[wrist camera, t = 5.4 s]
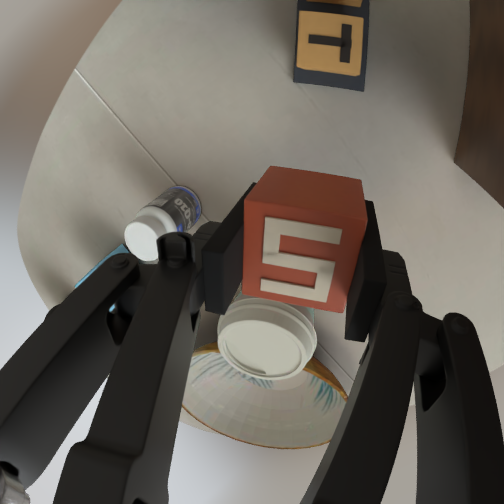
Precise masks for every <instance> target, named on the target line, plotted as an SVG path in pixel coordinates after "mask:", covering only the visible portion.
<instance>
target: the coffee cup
mask: <svg viewBox="0 0 504 504" xmlns="http://www.w3.org/2000/svg"><path fill="white" fill-rule="evenodd" d="M217 333H218V348H219V350H220V353H221V354H222V356H223V357H224V359H225V360H226V361H227V362H228V363H229V364H230V365H231V366H233V367H234V368H235V369H237V370H238V371H240V372H242V373H244V374H247V375H249V376H252V377H255V378H259V379H265V380H282V379H287V378H290V377H292V376H294V375H296V374H298V373H299V372H300V371H301V370H302V369H303V368H304V367H305V365H306V363H307V362H308V361H309V360H310V359H311V357H312V355H313V353H314V351H315V348H316V345H317V336H316V332H315V329H314V308H310V307H305V306H299V305H294V304H289V303H284V302H278V301H273V300H268V299H263V298H258V297H253V296H249V295H244V294H242V290H241V292H240V293H239V295H238V296H237V297H236V299H235V300H234V302H233V303H232V304H231V305H229V307H228V309H227V311H226V313H225V315H221V316H220V318H219V323H218V328H217Z"/></svg>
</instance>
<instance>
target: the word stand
mask: <svg viewBox="0 0 504 504" xmlns="http://www.w3.org/2000/svg"><path fill="white" fill-rule="evenodd" d="M454 163H455V164H456V165H457V166H459V167H460V168H461V169H462V170H463V171H464V172H466V173H467V174H468V175H469V176H470V177H471V178H472V179H473V180H475V181H476V182H477V183H478V184H479V185H480V186H481V187H482V188H483V189H484V190H485V191H486V192H488V193H489V194H490V195H491V196H492V197H493V198H494V199H495V200H496V201H497V202H498V203H499V204H500V205H501V206H502V207H503V208H504V0H470V50H469V66H468V77H467V87H466V95H465V103H464V110H463V117H462V123H461V129H460V134H459V140H458V145H457V150H456V155H455V159H454Z"/></svg>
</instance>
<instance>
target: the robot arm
mask: <svg viewBox="0 0 504 504" xmlns="http://www.w3.org/2000/svg"><path fill="white" fill-rule="evenodd" d="M256 184H257V183H254V182H253V184H252V185H251V186H250V187H249V189H248V190H247V191H246V192H245V194H244V195H243V196H242V197H241V199H240V200H239V201H238V202H237V204H236V205H235V206H234V208H233V209H232V210H231V211H230V213H229V214H228V215H227V217H226V218H225V219H224V220H223V222H222V223H219V222H213V221H209V222H207V223H205V224H203V225H202V226H200V228H199V229H198V230H197V231H196V233H194V234H193V236H192V235H191V234H188V233H186V232H180V231H177V232H169V233H166V234H163V235H162V236H160V237H159V238H158V239H157V240H156V243H157V251H158V257H159V262H158V264H143V265H139V263H138V258H137V257H136V256H135V255H134V254H131V253H117V254H115V255H112V256H111V257H109V258H108V259H106V260H105V261H104V262H103V263H102V264H101V265H100V266H99V267H98V268H97V269H96V270H95V271H94V272H92V273H91V274H90V275H89V276H88V277H87V278H86V279H85V280H84V281H83V282H82V283H81V284H80V285H79V286H78V287H77V288H76V289H75V290H74V291H73V292H72V293H71V294H70V295H69V296H68V297H67V298H66V299H65V300H64V301H63V302H62V303H61V304H60V305H59V306H58V307H57V308H56V309H55V310H54V311H53V312H52V313H51V314H50V315H49V316H48V317H47V318H46V319H45V321H44V322H43V323H42V324H41V325H40V326H39V327H38V328H37V329H36V330H35V331H34V332H33V334H32V335H31V336H30V337H29V338H28V339H27V340H26V341H25V342H24V343H23V345H22V346H21V347H20V348H19V349H18V350H17V351H16V353H15V354H14V355H13V356H12V357H11V358H10V359H9V361H8V362H7V363H6V364H5V365H4V367H3V368H2V369H1V370H0V504H30V498H29V495H28V494H27V493H26V492H25V490H26V489H27V488H28V487H29V486H31V485H32V484H33V483H34V482H35V481H36V480H37V479H38V477H39V476H40V475H41V474H42V473H43V471H44V470H45V469H46V467H47V466H48V464H49V463H50V461H51V460H52V458H53V457H54V455H55V454H56V452H57V450H58V449H59V447H60V446H61V444H62V443H63V441H64V440H65V438H66V437H67V435H68V433H69V432H70V431H71V429H72V428H73V426H74V424H75V423H76V421H77V420H78V419H79V417H80V416H81V414H82V413H83V411H84V410H85V408H86V407H87V405H88V404H89V402H90V400H91V399H92V398H93V396H94V395H95V393H96V392H97V390H98V389H99V388H100V386H101V385H102V383H103V382H104V380H105V379H106V378H107V376H108V375H109V377H108V380H107V382H106V385H105V388H104V390H103V393H102V396H101V398H100V401H99V404H98V407H97V409H96V412H95V415H94V418H93V421H92V424H91V427H90V430H89V433H88V435H87V437H86V439H85V440H84V441H81V442H77V443H75V444H74V445H73V446H72V447H71V448H70V450H69V453H68V455H67V457H66V461H65V463H64V467H63V470H62V473H61V477H60V480H59V483H58V487H57V490H56V494H55V497H54V501H53V504H168V501H169V495H168V486H167V485H168V477H169V471H170V466H171V460H172V454H173V448H174V443H175V438H176V433H177V428H178V422H179V417H180V412H181V407H182V402H183V397H184V392H185V387H186V383H187V378H188V373H189V368H190V363H191V359H192V354H193V349H194V345H195V340H196V336H197V331H198V327H199V322H200V307H201V305H202V304H203V302H204V300H205V310H206V311H208V312H213V313H217V314H221V315H225V313H226V311H227V309H228V307H229V305H230V303H231V301H232V299H233V297H234V295H235V293H236V291H237V289H238V287H239V285H240V283H241V281H242V278H243V240H244V200H245V198H246V197H247V195H248V194H249V193H250V191H251V190H252V189H253V188H254V186H255V185H256ZM365 205H366V212H367V218H368V222H367V226H366V230H365V235H364V239H363V241H362V243H361V247H360V251H359V255H358V259H357V263H356V267H355V271H354V274H353V278H352V282H351V285H350V289H349V292H348V296H347V306H346V325H345V339H346V340H352V341H359V342H365V340H366V338H367V335H368V333H369V342H368V344H367V346H366V349H365V351H364V353H363V355H362V358H361V360H360V362H359V364H360V366H359V369H358V372H357V375H356V378H355V380H354V383H353V386H352V389H351V391H350V394H349V397H348V399H347V402H346V405H345V407H344V410H343V412H342V415H341V417H340V420H339V422H338V424H337V427H336V429H335V432H334V434H333V436H332V439H331V441H330V443H329V445H328V448H327V450H326V452H325V454H324V456H323V459H322V461H321V463H320V465H319V467H318V469H317V471H316V474H315V475H314V477H313V479H312V481H311V483H310V485H309V487H308V489H307V491H306V493H305V495H304V497H303V499H302V500H301V502H300V504H380V503H381V501H382V498H383V495H384V492H385V490H386V486H387V484H388V481H389V477H390V474H391V472H392V468H393V465H394V462H395V458H396V455H397V451H398V448H399V444H400V440H401V436H402V433H403V429H404V425H405V420H406V416H407V411H408V407H409V402H410V397H411V392H412V387H413V381H414V391H415V404H416V421H417V493H416V494H417V495H416V504H504V442H503V435H502V429H501V423H500V419H499V413H498V408H497V403H496V399H495V395H494V391H493V386H492V382H491V378H490V375H489V371H488V367H487V364H486V360H485V357H484V354H483V350H482V347H481V344H480V341H479V338H478V335H477V332H476V329H475V327H474V325H473V323H472V322H471V321H470V320H469V319H468V318H467V317H465V316H464V315H462V314H459V313H448V314H446V315H445V317H444V318H443V320H439V319H437V318H435V317H432V316H430V315H428V314H426V313H424V312H423V309H422V304H421V303H420V301H419V300H418V299H417V298H416V297H415V296H413V295H412V291H411V287H410V282H409V278H408V276H407V275H408V273H407V269H406V265H405V261H404V259H403V258H402V257H401V256H400V254H399V253H398V252H393V251H388V250H382V246H381V240H380V234H379V229H378V224H377V219H376V214H375V209H374V204H373V201H368V200H365ZM113 305H114V306H115V308H114V309H113V310H112V311H111V312H110V311H109V310H110V308H111V307H112V306H113ZM109 373H110V374H109Z"/></svg>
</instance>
